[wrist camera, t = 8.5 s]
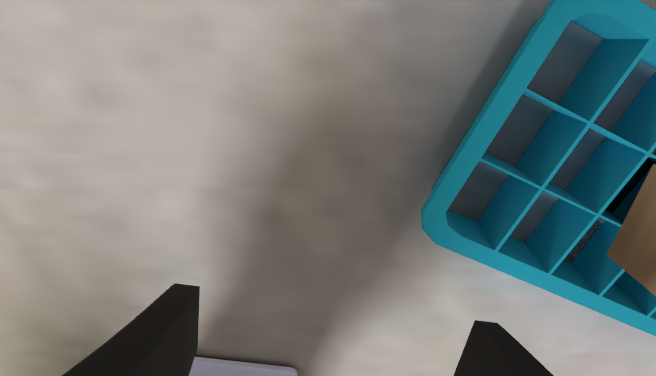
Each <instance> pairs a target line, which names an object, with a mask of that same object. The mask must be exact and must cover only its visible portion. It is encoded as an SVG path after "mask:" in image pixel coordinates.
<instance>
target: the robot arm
mask: <svg viewBox="0 0 656 376" xmlns="http://www.w3.org/2000/svg"><path fill="white" fill-rule="evenodd" d="M199 289H200V287H199V286H191V285H183V284H174V285H172V286H171V287H170V288H169V289H168V290H166V291H165V292H164V293H163V294H162V295H161V296H160V297H159V298H157V299H156V300H155V301H154V302H153V303H152V304H151V305H150V306H148V307H147V308H146V309H145V310H144V311H143V312H142V313H140V314H139V315H138V316H137V317H136V318H135V319H134V320H132V321H131V322H130V323H129V324H128V325H126V326H125V327H124V328H123V329H121V330H120V331H119V332H118V333H117V334H115V335H114V336H113V337H112V338H111V339H109V340H108V341H107V342H106V343H104V344H103V345H102V346H101V347H99V348H98V349H97V350H95V351H94V352H93V353H91V354H90V355H89V356H87V357H86V358H85V359H83V360H82V361H81V362H80V363H78V364H77V365H76V366H74V367H73V368H72V369H70V370H69V371H68V372H66V373H65V374H63V375H62V376H298V373H297V371H296V369H294V368H291V367H284V366H275V365H265V364H256V363H247V362H238V361H229V360H220V359H211V358H202V357H195V354H196V351H197V345H198V317H199ZM454 376H553V375H552V374H551V373H550V372H549V371H548V370H547V369H546V368H545V367H544V366H543V365H542V364H541V363H540V362H539V361H538V360H537V359H536V358H534V357H533V356H532V355H531V354H530V353H529V352H528V351H527V350H526V349H525V348H524V347H523V346H522V345H521V344H520V343H519V342H518V341H517V340H516V339H515V338H513V337H512V336H511V335H510V334H509V333H508V332H507V331H506V330H505V329H504V328H502V327H501V326H500V325H499V324H498V323H493V322H484V321H476V320H475V322H474V324H473V327H472V329H471V332H470V335H469V337H468V340H467V342H466V345H465V347H464V350H463V353H462V355H461V358H460V360H459V363H458V366H457V368H456V371H455V373H454Z"/></svg>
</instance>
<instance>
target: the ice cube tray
mask: <svg viewBox="0 0 656 376" xmlns="http://www.w3.org/2000/svg"><path fill="white" fill-rule="evenodd" d="M570 21H572V22H574V23H576V24H578V25H579V26H581V27H583V28H585V29H586V30H588V31H590V32H592V33H593V34H595V35H597V36H599V37H600V38H602V39H603V40H602V41H601V43H600V44H599V46H598V47H597V49H596V50H595V52H594V53H593V54H592V56H591V57H590V59H589V60H588V62H587V63H586V65H585V66H584V68H583V69H582V70H581V72H580V73H579V75H578V76H577V78H576V79H575V81H574V82H573V83H572V85H571V86H570V88H569V89H568V91H567V92H566V94H565V95H564V96H563V98H562V99H561V101H560V102H559V104H558V105H557V104H556V103H554V102H552V101H550V100H548V99H546V98H544V97H542V96H540V95H538V94H536V93H534V92H533V91H531V90H529V89H527V86H528V85H529V83H530V82H531V80H532V79H533V77H534V76H535V74H536V73H537V71H538V70H539V68H540V66H541V65H542V63H543V62H544V60H545V59H546V57H547V56H548V54H549V53H550V51H551V50H552V48H553V46H554V45H555V43H556V42H557V40H558V39H559V37H560V36H561V34H562V33H563V31H564V30H565V28H566V26H567V25H568V23H569V22H570ZM639 60H641V61H642V62H644V63H646V64H648V65H649V66H651V67H653V68H655V69H656V10H654V9H652V8H651V7H649V6H647V5H646V4H644V3H643V2H641V1H639V0H551V1H550V3H549V5H548V6H547V8H546V10H545V11H544V13H543V14H542V16H541V18H540V19H539V20H538V21H536V22H535V23H534V25H533V26H532V28H531V29H530V31H529V33H528V34H527V36H526V38H525V39H524V41H523V42H522V44H521V46H520V47H519V49H518V50H517V52H516V54H515V55H514V57H513V59H512V60H511V62H510V63H509V65H508V67H507V68H506V70H505V72H504V73H503V75H502V76H501V78H500V80H499V81H498V83H497V84H496V86H495V88H494V89H493V91H492V93H491V94H490V96H489V97H488V99H487V101H486V102H485V104H484V105H483V107H482V109H481V110H480V112H479V114H478V115H477V117H476V118H475V120H474V122H473V123H472V125H471V127H470V128H469V130H468V131H467V133H466V135H465V136H464V138H463V139H462V141H461V143H460V144H459V146H458V148H457V149H456V151H455V152H454V154H453V156H452V157H451V159H450V161H449V162H448V164H447V165H446V167H445V169H444V170H443V172H442V173H441V175H440V177H439V178H438V180H437V182H436V183H435V185H434V186H433V188H432V190H433V192H432V193H431V195H430V196H429V198H428V200H427V201H426V203H425V204H424V206H423V208H422V228H423V230H424V231H425V232H426V234H427V235H428V236H429V237H430V238H431V239H432V240H433V241H434V242H435V244H437V245H440V246H442V247H445V248H447V249H449V250H452V251H454V252H456V253H459V254H461V255H464V256H466V257H468V258H471V259H473V260H476V261H478V262H480V263H483V264H485V265H487V266H490V267H492V268H495V269H497V270H499V271H502V272H504V273H506V274H509V275H511V276H514V277H516V278H518V279H521V280H523V281H526V282H528V283H530V284H533V285H535V286H537V287H540V288H542V289H545V290H547V291H549V292H552V293H554V294H556V295H559V296H561V297H564V298H566V299H568V300H571V301H573V302H575V303H578V304H580V305H583V306H585V307H587V308H590V309H592V310H595V311H597V312H599V313H602V314H604V315H606V316H609V317H611V318H614V319H616V320H618V321H621V322H623V323H625V324H628V325H630V326H633V327H635V328H637V329H640V330H642V331H645V332H647V333H649V334H652V335H654V336H656V296H655V295H654V294H653V293H651V292H650V291H649V290H648V289H647V288H645V287H644V286H643V285H642V284H641V283H639V282H638V281H637V280H636V279H635V278H633V277H632V276H631V275H630V274H629V273H628V272H626V271H625V270H624V269H623V268H622V267H620V266H619V265H618V264H617V263H616V262H614V261H613V260H612V259H611V258H610V257H608V256H607V253H608V251H609V249H610V247H611V245H612V243H613V241H614V239H615V237H616V236H617V234H618V232H619V230H620V228H621V226H622V224H623V222H624V220H625V218H626V216H627V214H628V212H629V210H630V208H631V206H632V204H633V203H634V201H635V199H636V197H637V195H638V193H639V191H640V189H641V187H642V185H643V183H644V181H645V179H646V177H647V175H648V173H649V171H650V170H651V168H652V167H651V168H650V169H649V170H648V172H647V173H646V174H645V175H644V176H643V178H642V179H641V180H640V181H639V182H638V184H637V185H636V186H635V187H634V188H633V190H632V191H631V192H630V193H629V194H628V196H627V197H626V198H625V199H624V200H623V202H622V203H621V204H620V205H619V206H618V207H617V209H616V210H615V211H614V212H613V213H611V212H609V211H607V210H605V209H606V208H607V206H608V205H609V204H610V203H611V202H612V200H613V199H614V198H615V197H616V196H617V194H618V193H619V192H620V191H621V189H622V188H623V187H624V186H625V185H626V183H627V182H628V181H629V180H630V179H631V177H632V176H633V175H634V174H635V172H636V171H637V170H638V169H639V168H640V166H641V165H642V164H643V163H644V162H645V160H646V159H649V160H651V161H653V162H655V163H654V164H656V156H655V155H653V154H651V153H652V152H653V151H654V149H655V148H656V72H655V73H654V75H653V76H652V77H651V79H650V80H649V81H648V83H647V84H646V85H645V87H644V88H643V89H642V91H641V92H640V93H639V94H638V96H637V97H636V98H635V100H634V101H633V102H632V104H631V105H630V106H629V108H628V109H627V110H626V111H625V113H624V114H623V115H622V117H621V118H620V119H619V121H618V122H617V123H616V125H615V126H614V127H613V129H612V130H611V131H610V132H609V131H607V130H605V129H603V128H601V127H600V126H598V125H596V124H594V123H593V122H594V121H595V120H596V118H597V117H598V116H599V114H600V113H601V112H602V110H603V109H604V108H605V106H606V105H607V103H608V102H609V101H610V99H611V98H612V97H613V95H614V94H615V93H616V91H617V90H618V89H619V87H620V86H621V85H622V83H623V82H624V81H625V79H626V78H627V76H628V75H629V74H630V72H631V71H632V70H633V68H634V67H635V66H636V64H637V63H638V62H639ZM522 94H524V95H526V96H528V97H530V98H532V99H534V100H535V101H537V102H539V103H541V104H543V105H545V106H547V107H549V108H551V109H553V110H554V111H553V112H552V114H551V115H550V117H549V118H548V120H547V121H546V123H545V124H544V125H543V127H542V128H541V130H540V131H539V133H538V134H537V136H536V137H535V138H534V140H533V141H532V143H531V144H530V146H529V147H528V149H527V150H526V151H525V153H524V154H523V156H522V157H521V159H520V160H519V162H518V163H517V164H516V166H513V165H511V164H509V163H507V162H505V161H502V160H500V159H498V158H496V157H494V156H492V155H490V154H488V153H486V152H485V151H486V150H487V148H488V146H489V145H490V143H491V142H492V140H493V139H494V137H495V136H496V134H497V133H498V131H499V130H500V128H501V126H502V125H503V123H504V122H505V120H506V119H507V117H508V116H509V114H510V113H511V111H512V110H513V108H514V106H515V105H516V103H517V102H518V100H519V99H520V97H521V96H522ZM588 129H591V130H593V131H595V132H597V133H599V134H601V135H603V136H605V137H606V138H605V139H604V140H603V142H602V143H601V144H600V146H599V147H598V148H597V149H596V151H595V152H594V153H593V155H592V156H591V157H590V159H589V160H588V161H587V163H586V164H585V165H584V167H583V168H582V169H581V170H580V172H579V173H578V174H577V176H576V177H575V178H574V180H573V181H572V182H571V184H570V185H569V186H568V187H567V189H566V190H563V189H561V188H559V187H557V186H555V185H553V184H551V183H549V182H550V180H551V179H552V178H553V176H554V175H555V174H556V172H557V171H558V170H559V168H560V167H561V166H562V164H563V163H564V162H565V160H566V159H567V158H568V156H569V155H570V153H571V152H572V151H573V149H574V148H575V147H576V145H577V144H578V143H579V141H580V140H581V139H582V137H583V136H584V135H585V133H586V132H587V130H588ZM479 161H481V162H484V163H486V164H488V165H490V166H492V167H494V168H496V169H498V170H500V171H503V172H505V173H507V174H509V176H508V178H507V179H506V180H505V182H504V183H503V185H502V186H501V188H500V189H499V191H498V192H497V193H496V195H495V196H494V198H493V199H492V201H491V202H490V204H489V205H488V206H487V208H486V209H485V211H484V212H483V214H482V215H481V217H480V218H479V219H478V221H477V222H475V221H473V220H471V219H468V218H466V217H464V216H461V215H459V214H457V213H455V212H452V211H450V210H449V209H448V208H449V206H450V205H451V203H452V202H453V200H454V199H455V197H456V196H457V194H458V193H459V191H460V190H461V188H462V186H463V185H464V183H465V182H466V180H467V179H468V177H469V176H470V174H471V173H472V171H473V170H474V168H475V166H476V165H477V163H478V162H479ZM542 191H545V192H547V193H549V194H551V195H553V196H556V197H558V198H559V199H558V201H557V202H556V203H555V204H554V206H553V207H552V208H551V210H550V211H549V212H548V214H547V215H546V216H545V218H544V219H543V220H542V222H541V223H540V224H539V225H538V227H537V228H536V229H535V231H534V232H533V233H532V235H531V236H530V237H529V239H528V240H527V241H526V242H525V243H523V242H521V241H518V240H516V239H514V238H512V237H509V236H510V234H511V233H512V232H513V230H514V229H515V228H516V226H517V225H518V224H519V222H520V221H521V220H522V218H523V217H524V216H525V214H526V213H527V212H528V210H529V209H530V207H531V206H532V205H533V203H534V202H535V201H536V199H537V198H538V197H539V195H540V194H541V193H542ZM598 217H600V218H602V219H604V220H606V222H605V223H604V224H603V225H602V227H601V228H600V229H599V230H598V231H597V233H596V234H595V235H594V236H593V237H592V239H591V240H590V241H589V242H588V243H587V245H586V246H585V247H584V248H583V249H582V251H581V252H580V253H579V254H578V255H577V257H576V258H575V259H574V260H573V261H572V263H568V262H566V261H564V259H565V257H566V256H567V255H568V254H569V252H570V251H571V250H572V249H573V248H574V246H575V245H576V244H577V243H578V242H579V240H580V239H581V238H582V237H583V236H584V234H585V233H586V232H587V231H588V229H589V228H590V227H591V226H592V225H593V223H594V222H595V221H596V220H597V219H598ZM624 271H625V272H624ZM614 282H615V283H614Z"/></svg>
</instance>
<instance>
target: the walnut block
mask: <svg viewBox="0 0 656 376" xmlns="http://www.w3.org/2000/svg"><path fill="white" fill-rule="evenodd" d="M607 256H608V257H610V258H611V259H612V260H613V261H614V262H616V263H617V264H618V265H619V266H620V267H622V268H623V269H624V270H625V271H626V272H628V273H629V274H630V275H631V276H632V277H633V278H635V279H636V280H637V281H638V282H639V283H641V284H642V285H643V286H644V287H645V288H647V289H648V290H649V291H650V292H651V293H653V294H654V295H655V296H656V164H653V166H652V168H651V170H650V171H649V173H648V175H647V177H646V179H645V181H644V183H643V185H642V187H641V189H640V191H639V193H638V195H637V197H636V199H635V201H634V203H633V204H632V206H631V208H630V210H629V212H628V214H627V216H626V218H625V220H624V222H623V224H622V226H621V228H620V230H619V232H618V234H617V236H616V237H615V239H614V241H613V243H612V245H611V247H610V249H609V251H608V253H607Z"/></svg>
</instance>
